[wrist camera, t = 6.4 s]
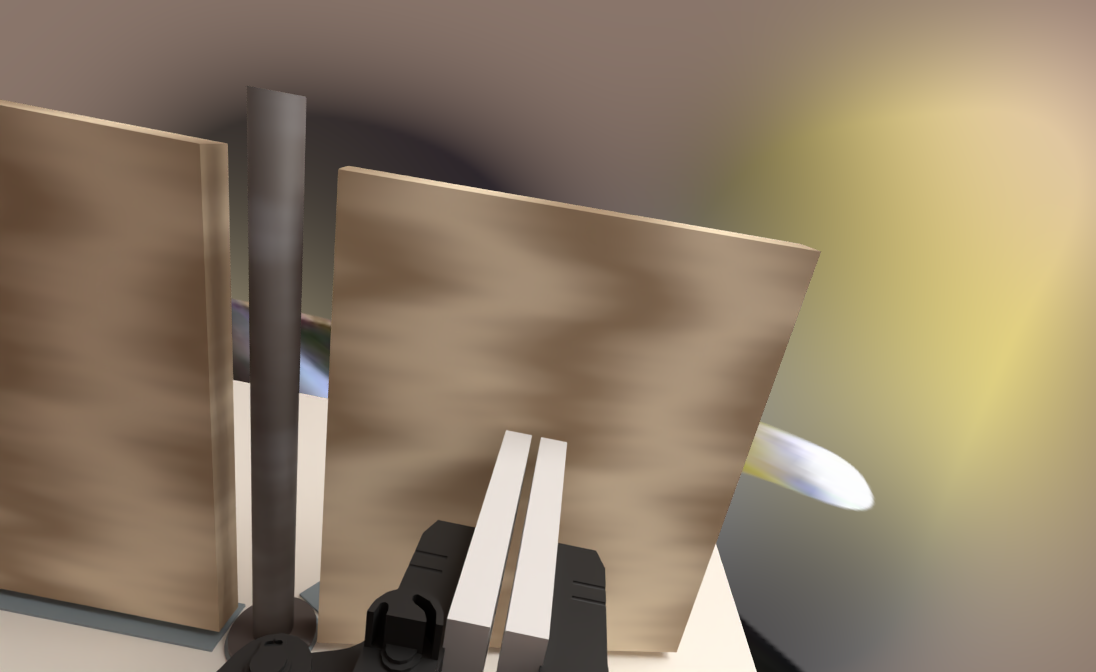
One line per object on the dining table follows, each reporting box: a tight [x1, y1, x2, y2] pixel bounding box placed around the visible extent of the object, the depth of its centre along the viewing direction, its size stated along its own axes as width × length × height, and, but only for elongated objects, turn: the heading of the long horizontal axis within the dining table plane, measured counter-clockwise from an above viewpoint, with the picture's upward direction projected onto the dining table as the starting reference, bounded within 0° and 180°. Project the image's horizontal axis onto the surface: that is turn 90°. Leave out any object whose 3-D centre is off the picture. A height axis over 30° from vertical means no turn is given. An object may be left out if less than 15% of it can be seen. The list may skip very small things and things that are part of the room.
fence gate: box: [317, 166, 821, 652], centre depth 17 cm, size 12×1×15 cm, turn 97°
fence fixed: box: [0, 86, 316, 657], centre depth 15 cm, size 15×3×17 cm, turn 86°
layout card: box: [0, 380, 756, 672], centre depth 22 cm, size 32×23×1 cm
